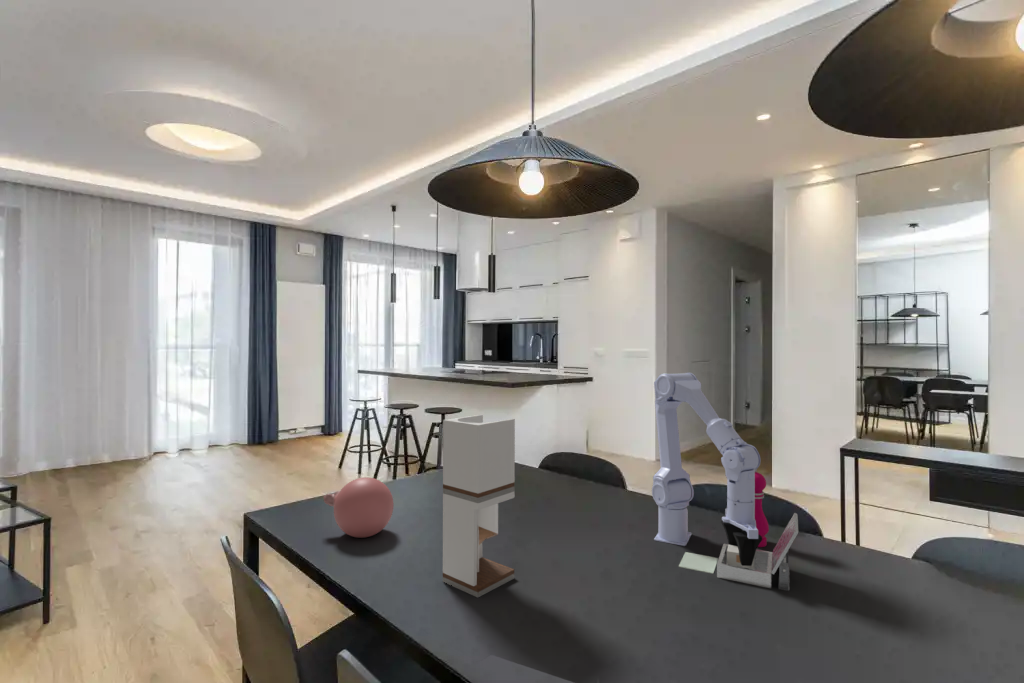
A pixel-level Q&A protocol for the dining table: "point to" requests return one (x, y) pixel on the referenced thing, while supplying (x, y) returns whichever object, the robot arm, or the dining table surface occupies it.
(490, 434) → the display case
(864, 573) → the dining table surface
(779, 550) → the lid
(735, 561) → the block
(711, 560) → the pad
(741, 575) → the case
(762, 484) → the pepper mill
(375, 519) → the round balloon
